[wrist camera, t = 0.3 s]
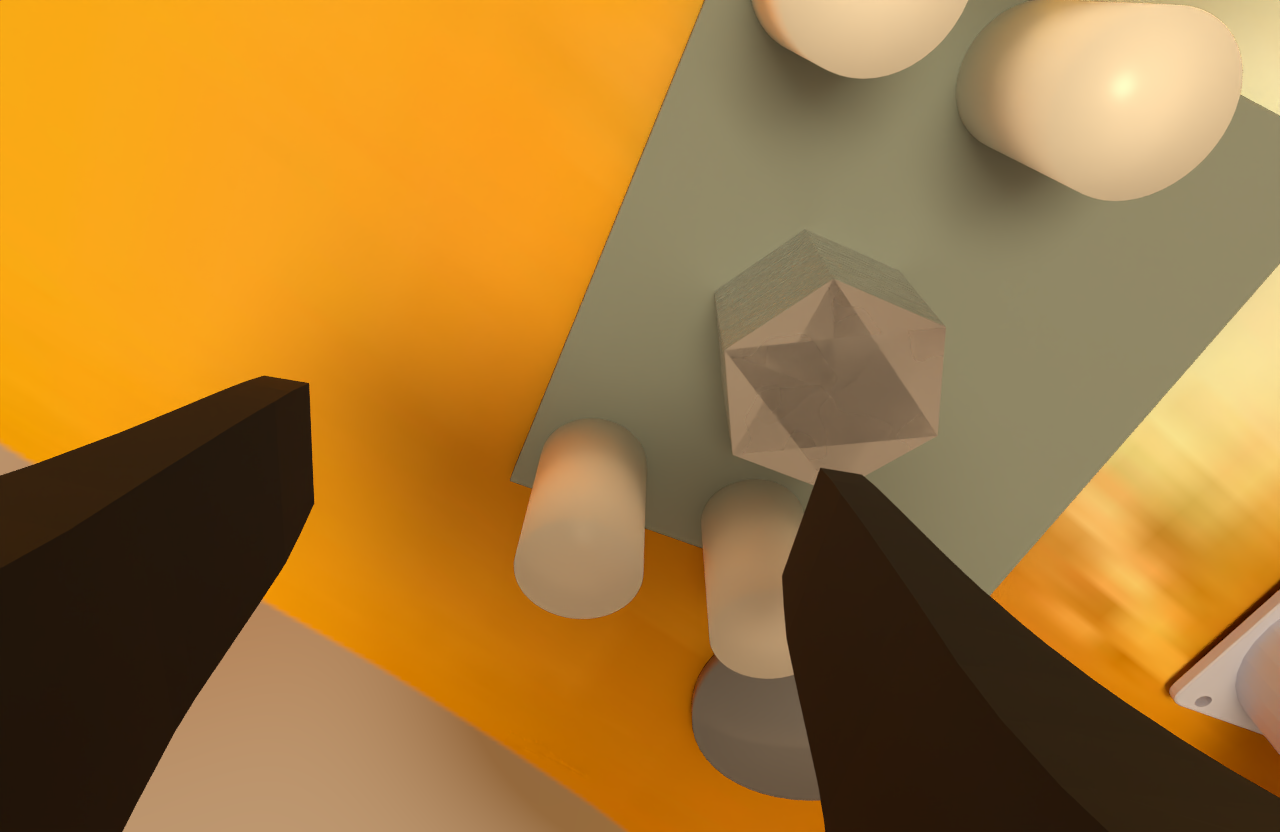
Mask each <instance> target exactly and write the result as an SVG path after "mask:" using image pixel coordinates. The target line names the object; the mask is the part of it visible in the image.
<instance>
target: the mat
mask: <svg viewBox="0 0 1280 832" xmlns="http://www.w3.org/2000/svg"><path fill="white" fill-rule="evenodd" d="M1027 1H1032V0H968V2H967V4H966V6H965V8H964V10H963V12H962V14H961V16H960V17H959V19H958V21H957V22H956V24H955V25H954V27H953V28H952V30H951V31H950V32H949V33H948V35H947V36H946V37H945V38H944V40H943V41H942V42H941V43H940V44H939V45H938V46H937V47H936V48H935V49H934V50H932V51H931V52H930V53H929V54H928V55H926V56H925V57H924V58H923V59H921V60H919V61H918V62H916V63H915V64H913V65H912V66H910V67H908V68H906V69H903V70H901V71H899V72H896V73H893V74H890V75H887V76H883V77H878V78H867V79H859V78H849V77H845V76H841V75H838V74H835V73H832V72H830V71H828V70H826V69H824V68H822V67H820V66H818V65H816V64H814V63H813V62H811V61H809V60H807V59H805V58H803V57H801V56H799V55H797V54H796V53H794V52H792V51H790V50H788V49H786V48H785V47H783V46H781V45H780V44H778V43H777V42H776V41H775V40H773V39H772V38H771V37H770V36H769V35H768V33H767V32H766V31H765V30H764V28H763V27H762V25H761V24H760V22H759V20H758V18H757V16H756V14H755V11H754V8H753V6H752V1H751V0H704V3H703V5H702V8H701V10H700V13H699V15H698V17H697V20H696V22H695V25H694V27H693V30H692V32H691V35H690V37H689V40H688V42H687V44H686V47H685V49H684V52H683V54H682V57H681V59H680V62H679V64H678V67H677V69H676V72H675V74H674V76H673V79H672V81H671V84H670V86H669V89H668V91H667V94H666V96H665V99H664V101H663V104H662V106H661V108H660V111H659V113H658V116H657V118H656V121H655V123H654V126H653V128H652V131H651V133H650V136H649V138H648V140H647V143H646V145H645V148H644V150H643V153H642V155H641V158H640V160H639V163H638V165H637V167H636V170H635V172H634V175H633V177H632V180H631V182H630V185H629V187H628V190H627V192H626V195H625V197H624V199H623V202H622V204H621V207H620V209H619V212H618V214H617V217H616V219H615V222H614V224H613V227H612V229H611V231H610V234H609V236H608V239H607V241H606V244H605V246H604V249H603V251H602V254H601V256H600V259H599V261H598V263H597V266H596V268H595V271H594V273H593V276H592V278H591V281H590V283H589V286H588V288H587V290H586V293H585V295H584V298H583V300H582V303H581V305H580V308H579V310H578V313H577V315H576V318H575V320H574V322H573V325H572V327H571V330H570V332H569V335H568V337H567V340H566V342H565V345H564V347H563V350H562V352H561V354H560V357H559V359H558V362H557V364H556V367H555V369H554V372H553V374H552V377H551V379H550V382H549V384H548V386H547V389H546V391H545V394H544V396H543V399H542V401H541V404H540V406H539V409H538V411H537V413H536V416H535V418H534V421H533V423H532V426H531V428H530V431H529V433H528V436H527V438H526V441H525V443H524V445H523V448H522V450H521V453H520V455H519V458H518V460H517V463H516V465H515V468H514V470H513V473H512V476H511V479H510V481H512V482H515V483H517V484H520V485H523V486H526V487H529V488H533V484H534V480H535V476H536V472H537V468H538V464H539V460H540V456H541V452H542V449H543V446H544V444H545V442H546V441H547V439H548V438H549V436H550V435H551V434H552V433H553V432H554V431H555V430H557V429H558V428H559V427H561V426H563V425H564V424H567V423H569V422H571V421H575V420H579V419H585V418H596V419H603V420H608V421H611V422H614V423H616V424H619V425H621V426H622V427H624V428H626V429H627V430H628V431H630V432H631V433H632V434H633V435H634V436H635V437H636V438H637V440H638V441H639V442H640V444H641V446H642V447H643V450H644V452H645V456H646V463H647V470H646V503H645V528H646V529H649V530H652V531H654V532H657V533H660V534H663V535H666V536H669V537H672V538H674V539H677V540H680V541H683V542H686V543H689V544H692V545H694V546H697V547H700V548H703V544H702V530H701V517H702V513H703V510H704V508H705V506H706V504H707V502H708V501H709V500H710V498H711V497H712V496H713V495H714V494H715V493H717V492H718V491H719V490H721V489H722V488H724V487H726V486H728V485H730V484H732V483H735V482H739V481H743V480H751V479H759V480H767V481H771V482H774V483H777V484H780V485H782V486H783V487H785V488H787V489H788V490H789V491H791V492H792V493H793V494H794V495H795V496H796V498H797V499H798V501H799V502H800V504H801V506H802V510H803V513H804V512H805V509H806V506H807V503H808V501H809V498H810V495H811V492H812V489H813V487H814V485H812V484H809V483H806V482H804V481H801V480H798V479H796V478H793V477H790V476H788V475H785V474H782V473H780V472H777V471H774V470H772V469H769V468H766V467H764V466H761V465H758V464H756V463H753V462H750V461H748V460H745V459H742V458H740V457H737V456H735V455H733V454H732V447H731V440H730V434H729V427H728V421H727V414H726V407H725V401H724V394H723V388H722V378H721V366H720V354H719V342H718V330H717V318H716V306H715V293H714V291H715V290H716V289H718V288H719V287H721V286H722V285H724V284H725V283H727V282H728V281H730V280H731V279H733V278H734V277H735V276H737V275H738V274H740V273H741V272H743V271H744V270H746V269H747V268H749V267H750V266H751V265H753V264H754V263H756V262H757V261H759V260H760V259H762V258H763V257H765V256H766V255H767V254H769V253H770V252H772V251H773V250H775V249H776V248H778V247H779V246H781V245H782V244H784V243H785V242H786V241H788V240H789V239H791V238H792V237H794V236H795V235H797V234H798V233H800V232H801V231H802V230H804V229H806V230H808V231H811V232H813V233H815V234H818V235H820V236H822V237H824V238H827V239H829V240H831V241H833V242H836V243H838V244H840V245H843V246H845V247H847V248H849V249H852V250H854V251H856V252H858V253H861V254H863V255H865V256H867V257H870V258H872V259H874V260H877V261H879V262H881V263H883V264H886V265H888V266H890V267H892V268H895V269H897V270H899V271H900V272H901V273H902V274H903V276H904V277H905V278H906V279H907V280H908V282H909V283H910V284H911V285H912V287H913V288H914V289H915V290H916V291H917V293H918V294H919V295H920V296H921V297H922V299H923V300H924V301H925V302H926V304H927V305H928V306H929V307H930V308H931V310H932V311H933V312H934V313H935V314H936V316H937V317H938V318H939V319H940V320H941V322H942V323H943V324H944V325H945V327H946V333H945V346H944V359H943V372H942V385H941V398H940V411H939V424H938V436H936V437H935V438H933V439H931V440H929V441H927V442H926V443H924V444H922V445H920V446H918V447H916V448H915V449H913V450H911V451H909V452H907V453H906V454H904V455H902V456H900V457H898V458H897V459H895V460H893V461H891V462H889V463H887V464H886V465H884V466H882V467H880V468H878V469H877V470H875V471H873V472H871V473H869V474H868V475H866V476H864V477H865V478H867V479H868V480H869V481H870V482H871V483H872V484H874V485H875V486H876V487H877V488H878V489H879V490H880V491H881V492H882V493H883V494H884V495H885V496H886V497H887V498H888V499H889V500H890V501H891V502H892V503H893V504H894V505H895V506H896V507H897V508H899V509H900V510H901V511H902V512H903V513H904V514H905V515H906V516H907V517H908V518H909V519H910V520H911V521H912V522H913V523H914V524H915V525H916V526H917V527H918V528H919V529H920V530H921V531H922V532H923V533H924V534H925V535H926V536H927V537H928V538H929V539H930V540H931V541H932V542H933V543H934V544H935V545H936V546H937V547H938V548H939V549H940V550H941V551H942V552H943V553H944V554H945V555H946V556H947V557H948V558H949V559H950V560H951V561H952V562H953V563H954V564H955V565H957V566H958V567H959V568H960V569H961V570H962V571H963V572H964V573H965V574H966V575H967V576H968V577H969V578H970V579H972V580H973V581H974V582H975V583H976V584H977V585H978V586H979V587H980V588H981V589H982V590H983V591H985V592H986V593H987V594H988V595H989V596H990V595H991V594H992V593H993V591H994V590H995V589H996V588H997V587H998V586H999V585H1000V583H1001V582H1002V581H1003V580H1004V579H1005V578H1006V577H1007V575H1008V574H1009V573H1010V572H1011V571H1012V570H1013V568H1014V567H1015V566H1016V565H1017V564H1018V563H1019V562H1020V560H1021V559H1022V558H1023V557H1024V556H1025V555H1026V554H1027V552H1028V551H1029V550H1030V549H1031V548H1032V547H1033V546H1034V544H1035V543H1036V542H1037V541H1038V540H1039V539H1040V538H1041V536H1042V535H1043V534H1044V533H1045V532H1046V531H1047V530H1048V528H1049V527H1050V526H1051V525H1052V524H1053V523H1054V522H1055V520H1056V519H1057V518H1058V517H1059V516H1060V515H1061V514H1062V512H1063V511H1064V510H1065V509H1066V508H1067V507H1068V506H1069V504H1070V503H1071V502H1072V501H1073V500H1074V499H1075V497H1076V496H1077V495H1078V494H1079V493H1080V492H1081V491H1082V489H1083V488H1084V487H1085V486H1086V485H1087V484H1088V483H1089V481H1090V480H1091V479H1092V478H1093V477H1094V476H1095V475H1096V473H1097V472H1098V471H1099V470H1100V469H1101V468H1102V467H1103V465H1104V464H1105V463H1106V462H1107V461H1108V460H1109V459H1110V457H1111V456H1112V455H1113V454H1114V453H1115V452H1116V451H1117V449H1118V448H1119V447H1120V446H1121V445H1122V444H1123V443H1124V441H1125V440H1126V439H1127V438H1128V437H1129V436H1130V435H1131V433H1132V432H1133V431H1134V430H1135V429H1136V428H1137V427H1138V425H1139V424H1140V423H1141V422H1142V421H1143V420H1144V418H1145V417H1146V416H1147V415H1148V414H1149V413H1150V412H1151V410H1152V409H1153V408H1154V407H1155V406H1156V405H1157V404H1158V402H1159V401H1160V400H1161V399H1162V398H1163V397H1164V396H1165V394H1166V393H1167V392H1168V391H1169V390H1170V389H1171V388H1172V386H1173V385H1174V384H1175V383H1176V382H1177V381H1178V380H1179V378H1180V377H1181V376H1182V375H1183V374H1184V373H1185V372H1186V370H1187V369H1188V368H1189V367H1190V366H1191V365H1192V364H1193V362H1194V361H1195V360H1196V359H1197V358H1198V357H1199V356H1200V354H1201V353H1202V352H1203V351H1204V350H1205V349H1206V347H1207V346H1208V345H1209V344H1210V343H1211V342H1212V341H1213V339H1214V338H1215V337H1216V336H1217V335H1218V334H1219V333H1220V331H1221V330H1222V329H1223V328H1224V327H1225V326H1226V325H1227V323H1228V322H1229V321H1230V320H1231V319H1232V318H1233V317H1234V315H1235V314H1236V313H1237V312H1238V311H1239V310H1240V309H1241V307H1242V306H1243V305H1244V304H1245V303H1246V302H1247V301H1248V299H1249V298H1250V297H1251V296H1252V295H1253V294H1254V293H1255V291H1256V290H1257V289H1258V288H1259V287H1260V286H1261V285H1262V283H1263V282H1264V281H1265V280H1266V279H1267V278H1268V277H1269V275H1270V274H1271V273H1272V272H1273V271H1274V270H1275V268H1276V267H1277V266H1278V265H1279V264H1280V116H1279V115H1277V114H1276V113H1274V112H1272V111H1270V110H1268V109H1266V108H1264V107H1262V106H1261V105H1259V104H1257V103H1255V102H1253V101H1251V100H1249V99H1248V98H1246V97H1244V96H1242V95H1240V97H1239V101H1238V104H1237V107H1236V110H1235V113H1234V115H1233V117H1232V120H1231V122H1230V124H1229V126H1228V127H1227V129H1226V131H1225V133H1224V134H1223V136H1222V137H1221V139H1220V140H1219V142H1218V143H1217V145H1216V146H1215V147H1214V148H1213V150H1212V151H1211V152H1210V153H1209V154H1208V155H1207V157H1206V158H1205V159H1204V160H1203V161H1202V162H1201V163H1200V164H1199V165H1198V166H1197V167H1195V168H1194V169H1193V170H1192V171H1190V172H1189V173H1188V174H1187V175H1186V176H1184V177H1183V178H1181V179H1180V180H1178V181H1177V182H1175V183H1174V184H1172V185H1170V186H1168V187H1166V188H1164V189H1163V190H1160V191H1158V192H1155V193H1153V194H1151V195H1148V196H1144V197H1141V198H1137V199H1131V200H1126V201H1106V200H1100V199H1095V198H1091V197H1089V196H1086V195H1084V194H1081V193H1080V192H1078V191H1076V190H1074V189H1072V188H1070V187H1068V186H1066V185H1064V184H1062V183H1060V182H1058V181H1056V180H1054V179H1052V178H1050V177H1048V176H1046V175H1044V174H1042V173H1040V172H1038V171H1036V170H1034V169H1032V168H1030V167H1028V166H1026V165H1024V164H1022V163H1020V162H1018V161H1016V160H1014V159H1012V158H1010V157H1008V156H1006V155H1004V154H1002V153H1000V152H998V151H996V150H994V149H992V148H990V147H988V146H986V145H984V144H983V143H981V142H979V141H978V140H977V139H976V138H974V137H973V136H972V135H971V134H970V132H969V131H968V130H967V129H966V127H965V125H964V124H963V122H962V120H961V117H960V115H959V111H958V107H957V100H956V86H957V78H958V74H959V70H960V67H961V64H962V61H963V59H964V57H965V55H966V53H967V51H968V49H969V47H970V46H971V44H972V42H973V41H974V39H975V38H976V37H977V36H978V34H979V33H980V32H981V31H982V30H983V29H984V28H985V27H986V26H987V25H988V24H989V23H990V22H991V21H992V20H993V19H995V18H996V17H997V16H998V15H1000V14H1001V13H1003V12H1005V11H1006V10H1008V9H1010V8H1012V7H1014V6H1016V5H1018V4H1021V3H1024V2H1027Z"/></svg>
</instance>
